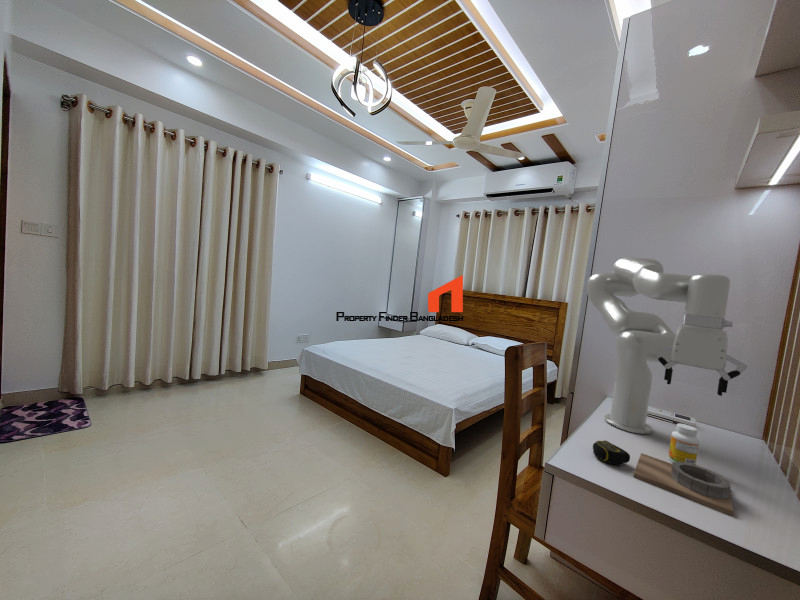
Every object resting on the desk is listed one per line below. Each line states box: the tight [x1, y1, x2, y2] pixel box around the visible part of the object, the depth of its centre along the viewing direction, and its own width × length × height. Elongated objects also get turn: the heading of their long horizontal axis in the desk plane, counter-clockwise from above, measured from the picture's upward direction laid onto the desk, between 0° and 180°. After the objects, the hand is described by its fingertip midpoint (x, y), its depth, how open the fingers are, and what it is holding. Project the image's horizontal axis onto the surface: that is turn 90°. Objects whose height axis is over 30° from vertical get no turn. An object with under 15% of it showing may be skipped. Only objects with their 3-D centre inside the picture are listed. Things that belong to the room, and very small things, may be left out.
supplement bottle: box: [667, 423, 700, 465], centre depth 82 cm, size 5×5×10 cm
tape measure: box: [592, 440, 631, 466], centre depth 80 cm, size 7×7×4 cm
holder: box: [633, 452, 734, 517], centre depth 73 cm, size 14×16×4 cm
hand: (693, 388), depth 81 cm, fingers open, 9 cm apart
